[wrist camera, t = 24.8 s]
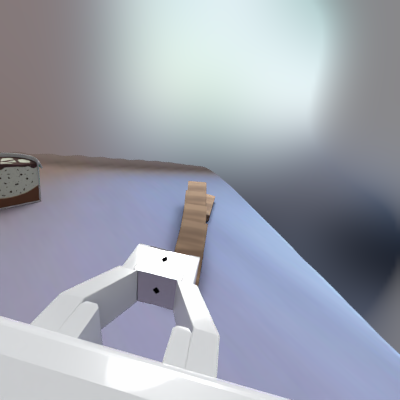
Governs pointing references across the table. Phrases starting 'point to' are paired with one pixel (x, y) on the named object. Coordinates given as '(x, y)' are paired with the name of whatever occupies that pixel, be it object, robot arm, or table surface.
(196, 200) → the domino
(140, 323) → the table surface
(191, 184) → the domino
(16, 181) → the food container
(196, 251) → the domino
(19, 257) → the table surface
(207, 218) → the domino
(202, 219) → the domino
